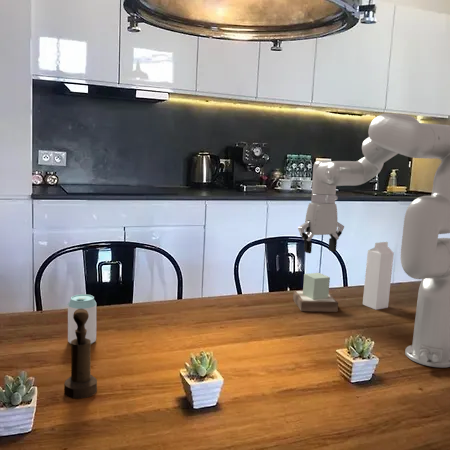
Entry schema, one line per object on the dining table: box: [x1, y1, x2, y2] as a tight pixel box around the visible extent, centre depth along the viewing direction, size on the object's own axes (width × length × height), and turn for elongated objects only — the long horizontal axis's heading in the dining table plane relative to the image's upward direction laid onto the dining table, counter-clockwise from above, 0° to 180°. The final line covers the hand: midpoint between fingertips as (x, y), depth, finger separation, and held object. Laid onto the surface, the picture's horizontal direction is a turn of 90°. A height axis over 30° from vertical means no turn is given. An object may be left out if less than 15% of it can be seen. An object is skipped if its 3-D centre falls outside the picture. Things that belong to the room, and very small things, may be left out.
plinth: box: [292, 290, 339, 313], centre depth 177 cm, size 12×12×3 cm
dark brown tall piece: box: [63, 309, 98, 400], centre depth 110 cm, size 7×6×18 cm
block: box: [302, 272, 331, 299], centre depth 176 cm, size 6×6×7 cm
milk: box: [362, 241, 395, 311], centre depth 178 cm, size 6×6×22 cm
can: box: [67, 293, 97, 345], centre depth 136 cm, size 7×7×12 cm
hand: (320, 251), depth 173 cm, fingers open, 9 cm apart
